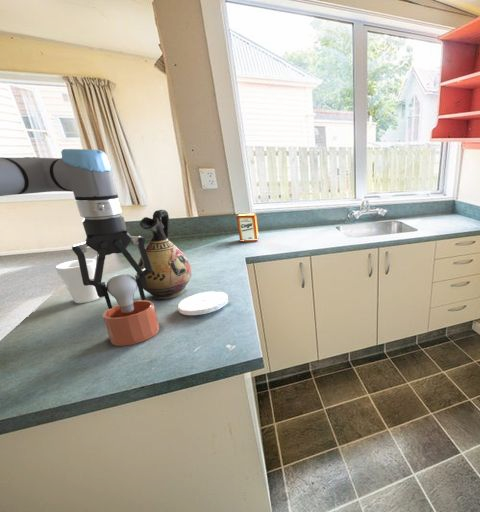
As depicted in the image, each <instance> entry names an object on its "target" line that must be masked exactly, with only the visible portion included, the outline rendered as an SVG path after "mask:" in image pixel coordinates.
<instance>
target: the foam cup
mask: <svg viewBox="0 0 480 512" xmlns="http://www.w3.org/2000/svg"><path fill="white" fill-rule="evenodd" d="M85 260H86V264H87V269H88V274H89V279H94V274H95V267H96V261H97V259H93V258H85ZM55 271H56V273H57V275H59V277H60V279H61V281H62V282H63V284H64V285H65V287H66V289H67V291H68V293H69V295H70V296H71V298H72V300H73V301H74V303H76V304H85V303H90V302H93V301H96V300H98V299H100V298H101V297H99V296H98V295H97V291H96V288H95V286H93V285H87V286H86V285H84V284H83V280H82V276H81V271H80V266H79V261H78V259H76V260H69V261H66V262H61V263H58V264H57V265H56V266H55Z"/></svg>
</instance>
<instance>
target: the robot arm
mask: <svg viewBox="0 0 480 512" xmlns="http://www.w3.org/2000/svg"><path fill="white" fill-rule="evenodd" d="M60 152H61V154H60V155H61V158H60V157H59V158H58V157H39V156H38V157H36V156H31V157H30V156H25V157H24V156H23V157H3V156H2V157H0V197H5V196H17V195H27V194H40V193H52V192H53V193H54V192H69V193H70V192H72V193H73V196H74V199H75V204H76V206H77V210H78V213H79V215H80V217H82V218H83V219H82V220H81V222H82V226H83V229H84V232H85V236H86V238H85V242H84V241H83V242H81V243H78V244H76V243H75V244H74V243H73V244H72V245H71V250H72V251H73V253H74V254H75V255H76V257H77V260H78V261H79V266H80V271H81V276H82V280H83V284H84V285H86V286H87V285H93V286H95V288H96V291H97V295H98V296H99V297H100V298H103V297H104V299H105V302H106V306H107V308H108V309H111V308H112V307H113V305H112V302H111V299H110V294H109V292H108V291H107V288H106V285H107V284H106V282H105V281H102V280H103V272H104V267H105V262H106V261H105V260H106V256H110V255H113V254H122V255H123V256H124V258H125V259H126V261H128V263H129V265H130V266H131V267H132V268H133V269H134V271H135V272H136V275H134V278H135V279H136V281H137V284H138V285H137V289H138V293H139V297H140V299H141V300H142V301H143V300H147V299H146V294H145V290H144V289H143V287H147V281H146V277H145V275H146V274H148V273H151V272H152V271H153V270H152V267H151V264H150V261H149V259H148V256H147V253H146V250H145V249H146V247H145V242H146V239H145V237H144V236H142V235H138V236H137V235H135V236H134V235H131V234H130V233H129V232H128V229H127V224H126V222H125V218H124V216H123V215H122V214H123V209H122V206H121V203H120V197H119V195H118V192H117V188H116V183H115V178H114V174H113V168H112V167H111V164H110V161H109V157H108V156H107V155H108V154H107V153H106V152H104V151H103V150H101V149H87V148H86V149H84V148H83V149H82V148H80V149H79V148H64V149H62V150H61V151H60ZM131 241H132V242H133V244H134V245H136V246H137V247H136V248H137V249H138V253H139V254H140V255H139V256H140V258H142V261H143V264H144V267H145V268H144V269H141V268H140V267H139V265H138V263H137V261H136V260H135V259H134V257H133V256H132V254H131V253H130V252H129V250H128V249H127V248H128V246H129V245H130V243H131ZM88 247H89V248H90V249H92V250H94V251H95V252H97V253H96V267H95V274H94V279H89V274H88V269H87V264H86V260H85V259H86V256H85V253H86V252H87V248H88ZM137 273H138V275H137ZM108 309H107V310H108Z"/></svg>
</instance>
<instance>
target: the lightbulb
mask: <svg viewBox="0 0 480 512" xmlns="http://www.w3.org/2000/svg"><path fill="white" fill-rule="evenodd" d="M105 285H106V288H107V291H108V294H109V295H111V296H112V297H113V298H114V299H115V300H116V302H117V305H119V306H120V308H121V311H122V312H123V313H126V314H128V313H131V312H132V311H133V310H134V307H133V303H134V301H135V300H134V299H135V293H136V291H137V289H138V286H137V285H138V284H137V281H136V278H135V276H132V275H130V274H126V273H120V274H115V275H114V276H113V275H112V276H111V278H109V279H108V280H107V282H106V284H105Z"/></svg>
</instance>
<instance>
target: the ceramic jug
mask: <svg viewBox="0 0 480 512" xmlns="http://www.w3.org/2000/svg"><path fill="white" fill-rule="evenodd" d="M139 225H140V227H141V228H142V230H145V231H150V232H152V236H151V238H150V241H149V242H148V244H147V246H146V247H145V250H146V253H147V256H148V259H149V261H150V264H151V267H152V270H153V271H152V272H151V273H148V274H146V275H145V277H146V281H147V287H143V291H144V292H145V291H146V292H147V293H148V294H150V295H151V299H153V300H159V301H163V300H168V299H173V298H176V297H179V296H180V295H182V294H183V293H184V290H185V288H186V286H187V285H188V284H189V282H190V281H191V278H192V275H193V273H192V272H193V271H192V267H191V264H190V262H189V260H188V257H186V255H185V254H184V253H183V252H182V251H181V250H180V249H179V248H178V247H177V245H175V243H173V242H172V241H171V240H170V237H169V235H170V234H169V229H170V217H169V213H168V211H167V210H166V209H158V210H155V211H153V214H152V218H151V217H147V216H145V217H143V218H142V219H141V220H140V222H139ZM137 264H138V265H139V267H140V268H141V269H144V268H145V267H144V264H143V261H142V258H141V257H140V258H139V260H138V263H137ZM136 275H138V273H137V272H136Z"/></svg>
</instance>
